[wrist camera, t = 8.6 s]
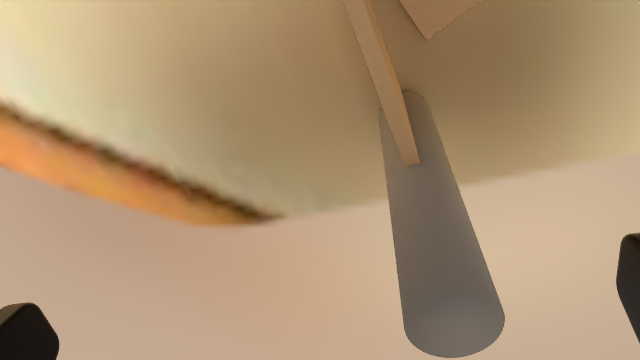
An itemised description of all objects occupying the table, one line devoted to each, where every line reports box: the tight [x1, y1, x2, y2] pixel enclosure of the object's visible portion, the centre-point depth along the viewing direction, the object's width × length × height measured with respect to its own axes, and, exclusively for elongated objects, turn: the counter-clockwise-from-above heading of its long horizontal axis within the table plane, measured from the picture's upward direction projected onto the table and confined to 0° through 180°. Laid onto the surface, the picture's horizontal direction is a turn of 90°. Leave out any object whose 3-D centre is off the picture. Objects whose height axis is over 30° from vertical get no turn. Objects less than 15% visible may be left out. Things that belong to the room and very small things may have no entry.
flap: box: [343, 0, 505, 358], centre depth 12 cm, size 7×2×10 cm, turn 23°
